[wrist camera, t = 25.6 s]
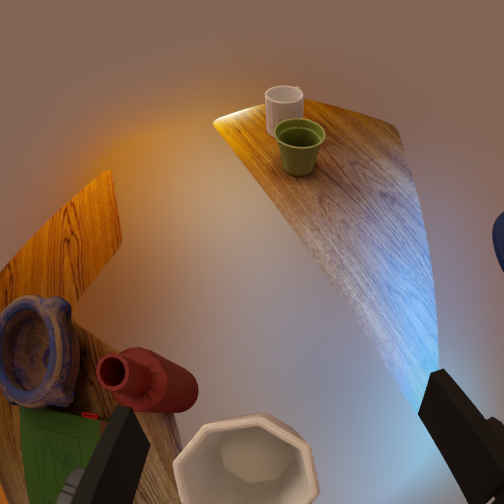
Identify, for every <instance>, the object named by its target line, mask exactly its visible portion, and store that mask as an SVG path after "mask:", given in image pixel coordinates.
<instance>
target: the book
mask: <svg viewBox="0 0 504 504" xmlns="http://www.w3.org/2000/svg"><path fill="white" fill-rule="evenodd" d="M108 421H109V420H106V419H99V418H98V414H92V413H86V412H82V416H81V415H76V414H71V413H66V412H61V411H57V410H52V409H48V408H38V409H30V408H25V407H22V406H20V430H21V446H22V457H23V466H24V473H25V480H26V486H27V492H28V497H29V502H30V504H55V503H56V501H57V498H58V496H59V494H60V492H62V488H63V486H64V485H65V482H66V479H67V477H68V475H69V473H70V472H72V471H73V470H74V469H75V468H76V467H77V466H80V467H83V468H86V467H87V465H88V463H89V460H90V458H91V456H92V454H93V452H94V450H95V448H96V446H97V444H98V442H99V439H100V437H101V435H102V433H103V431H104V429H105V427H106V425H107V423H108Z"/></svg>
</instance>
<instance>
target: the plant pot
mask: <svg viewBox="0 0 504 504" xmlns="http://www.w3.org/2000/svg"><path fill="white" fill-rule="evenodd" d="M325 136H326V134H325V131H324V129H323V128H322V127H321V126H320V125H319V124H317V123H315V122H313V121H311V120H307V119H301V118H293V119H288V120H284V121H282V122H280V123H279V124H277V125H276V127H275V128H274V137H275V139H276V140H277V142H278V144H279V148H280V153H281V159H282V165H283V168H284V170H285V171H286V172H287V173H289V174H291V175H293V176H299V175H304V176H305V175H307V174H309V173H310V172H311V171H312V170H313V167H314V164H315V160H316V157H317V153H318V150H319V147H320V146H321V144H322V143H323V142H324V140H325Z"/></svg>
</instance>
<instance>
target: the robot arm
mask: <svg viewBox="0 0 504 504" xmlns="http://www.w3.org/2000/svg"><path fill="white" fill-rule="evenodd" d="M418 415H419V417H420V419H421V420H422V422H423V424H424V425H425V427H426V429H427V430H428V432H429V434H430V435H431V437H432V439H433V440H434V442H435V444H436V446H437V447H438V449H439V451H440V452H441V454H442V456H443V457H444V460H445V461H446V463H447V465H448V467H449V468H450V470H451V472H452V474H453V476H454V478H455V479H456V481H457V483H458V485H459V486H460V489H461V491H462V492H463V494H464V496H465V498H466V500H467V502H468V504H486V503H487V502H488V501H489V500H490V499H491V498H492V497H493V496H494V497H495V500H494V501H493V502H492V503H491V504H504V425H503V423H502V422H500V421H499V420H497V419H495V418H494V417H491V418H489V419H487V420H486V419H485V418H484V417H483V415H482V414H481V413H480V412H479V410H478V409H477V408H476V407H475V405H474V404H473V403H472V402H471V400H470V399H469V398H468V397H467V395H466V394H465V393H464V392H463V391H462V389H461V388H460V387H459V386H458V385H457V383H456V382H455V381H454V380H453V379H452V378H451V377H450V375H449V374H448V373H447V372H446V371H445V369H441V370H438V371H435V372H432V373H431V374H430V377H429V381H428V384H427V387H426V391H425V394H424V397H423V400H422V403H421V406H420V409H419V412H418ZM149 448H150V443H149V441H148V439H147V437H146V435H145V433H144V432H143V430H142V428H141V426H140V424H139V422H138V420H137V418H136V416H135V414H134V411H133V409H132V407H127V406H117V405H116V407H115V409H114V411H113V413H112V415H111V417H110V419H109V421H108V423H107V425H106V427H105V429H104V431H103V433H102V435H101V437H100V439H99V442H98V444H97V446H96V448H95V450H94V452H93V454H92V456H91V458H90V460H89V463H88V465H87V467H86V468H83V467H80V466H77V467H76V468H75V469H74V470H73V471H72V472H70V473H69V475H68V477H67V479H66V482H65V485H64V486H63V488H62V492H60V494H59V496H58V498H57V501H56V503H55V504H132V503H133V500H134V496H135V493H136V490H137V486H138V483H139V480H140V477H141V473H142V470H143V467H144V464H145V461H146V457H147V454H148V451H149Z"/></svg>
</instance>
